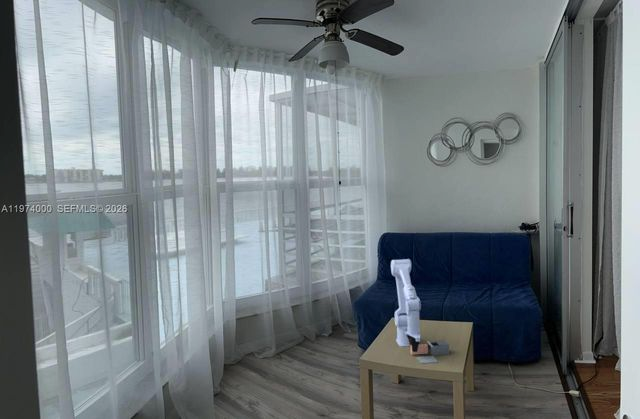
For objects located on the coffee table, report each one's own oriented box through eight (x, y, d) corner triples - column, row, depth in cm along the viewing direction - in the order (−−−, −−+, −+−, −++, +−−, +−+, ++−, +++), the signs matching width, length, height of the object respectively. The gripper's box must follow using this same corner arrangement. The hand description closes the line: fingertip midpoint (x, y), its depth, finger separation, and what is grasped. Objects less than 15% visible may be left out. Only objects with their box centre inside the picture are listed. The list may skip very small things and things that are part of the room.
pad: (416, 357, 205) (416, 356, 205) (432, 356, 206) (432, 355, 206) (421, 363, 198) (421, 362, 198) (437, 362, 199) (437, 361, 199)
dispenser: (427, 351, 212) (426, 341, 212) (444, 349, 213) (444, 339, 213) (431, 355, 206) (431, 345, 206) (449, 354, 207) (449, 344, 207)
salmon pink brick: (410, 352, 209) (410, 344, 209) (426, 351, 210) (426, 344, 210) (411, 354, 207) (411, 346, 207) (427, 353, 208) (427, 345, 208)
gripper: (401, 319, 214) (401, 345, 215) (409, 328, 200) (410, 357, 201) (415, 318, 215) (415, 344, 216) (424, 328, 201) (425, 356, 202)
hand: (414, 350), depth 208 cm, fingers closed on salmon pink brick, 2 cm apart
